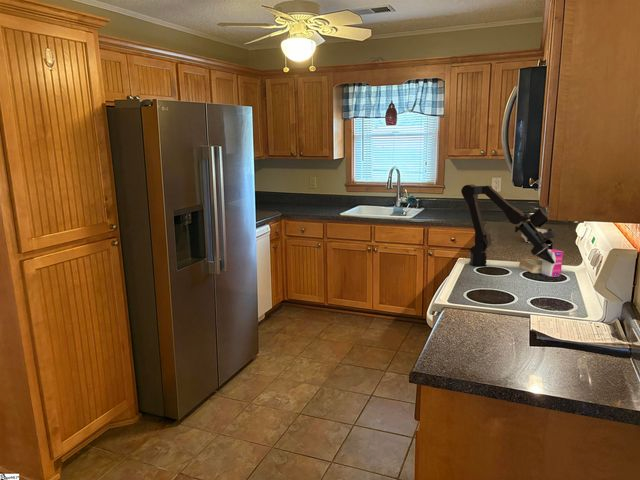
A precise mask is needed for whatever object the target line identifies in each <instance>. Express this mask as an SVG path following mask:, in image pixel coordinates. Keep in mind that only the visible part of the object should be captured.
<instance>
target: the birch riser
mask: <svg viewBox="0 0 640 480" xmlns="http://www.w3.org/2000/svg"><path fill="white" fill-rule="evenodd" d="M542 262H543V259H542V258H535V259H533V258H531V259H529V258H528V259H527V258H522V259H521V258H520V259H519V267H520V268H521V269H523V270H525V271H528V272H530V273H531V274H541V270H542Z"/></svg>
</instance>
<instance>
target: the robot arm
mask: <svg viewBox="0 0 640 480" xmlns="http://www.w3.org/2000/svg"><path fill="white" fill-rule="evenodd" d="M460 191H461V192H460V193H461V195H462V197H463V199H464V201H465V203H466V204H467V205H468V207H467V208H468V209H469V214H470V217H471V218H470V219H471V221H472V225H473V229H474V230H473V231H474V245H473V246H472V247H471V248H469V252H470V259H469V262H468V264H469V263H470V265H471V266H472V267H487V259H488V258H487V253H486V252H487V250H488V249H489V248H490V247H492V242H493V239H492V237H491V233H490V232H489V233H487V232H486V230H485V226H484V222H483V217H482V215H481V211H480V207H479V203H478V198H479V195H485V196H486V197H488V198H489V199H490V200H491V201H492V202H493V203H494V204H495V205H496V206H497V207H498V208H499V209H500V210H501V211H503V213H504V214H505V216H506V218H507V219H508V221H509V222H510V223H511V225H516V226H514V233H518V232H519V231H520V233H521V234H523V235H524V236H525V237H526V238H527V239H528V240H527V241H528V242H530V243H529V244H530V245H531V246H532V247H533V248H531V251H530V253H531V254H532V256H536V257H538V258H539V259H544V260H546V261H548V262H550V263H552V264H553V263H555V262H554V260H553V258H552V257H551V255H550V254H549V252H548V249H554V245H555V243H554V242H555V241H554V240H553V239H555V238H557V237H558V234H557V230H556V229H553V228H552V227H550V228H548V229H547V230H548V231H547V232H545V233H542V232H541V231H539V232H538V231H537V229H536V228H537V227H538V229H541V228H542V226H544V225H546V224H547V223H549V221H548V220H547V214H548V213H547V212H545V211H544V210H542V208H537V210H536V211H535V212H534V213H532V214H526V213H524V212H523V211H522V210H521V209H519V208H517V207H515V206H514V205H512V204H511V203H509V202H508V201H507V200H506V199H505V198H504V197H503V196H502V195H501V194H499V193H498V192H497V191H496V190H495V189H494V188H493V186H492V185H475V184H472V183H471V184H466V185H463V186H462V188H461V190H460ZM517 225H518V226H517Z"/></svg>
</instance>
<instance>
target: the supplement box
mask: <svg viewBox="0 0 640 480" xmlns="http://www.w3.org/2000/svg"><path fill="white" fill-rule="evenodd" d="M548 252H549V254H550V255H551V257H552V258H553V260H554V262H555V263H553V264H552V263H550V262H548V261H546V260H544V259H543V262H542V270H541V273H540V274H541V275H542V276H545V277H548V278H554V277H555V278H556V277H557V278H560V277H561V275H562V267H563V266H562V265H563V257H564V251H562V250H558V249H555V248H553V249H548Z"/></svg>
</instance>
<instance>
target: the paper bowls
mask: <svg viewBox="0 0 640 480" xmlns="http://www.w3.org/2000/svg"><path fill="white" fill-rule="evenodd" d="M535 228H536V229H537V231H538V232H539V231H541V232H542V233H545V232H547V231H548V229H544V228H539V227H538V228H537V227H535ZM520 236H521V238H523V239H524V241H525V243H527V242H528V241H527V240H528V239H527V238H526V237H525V236H524V235H523V234H522V233H521V235H520ZM528 244H531V243H530V242H528Z"/></svg>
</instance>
